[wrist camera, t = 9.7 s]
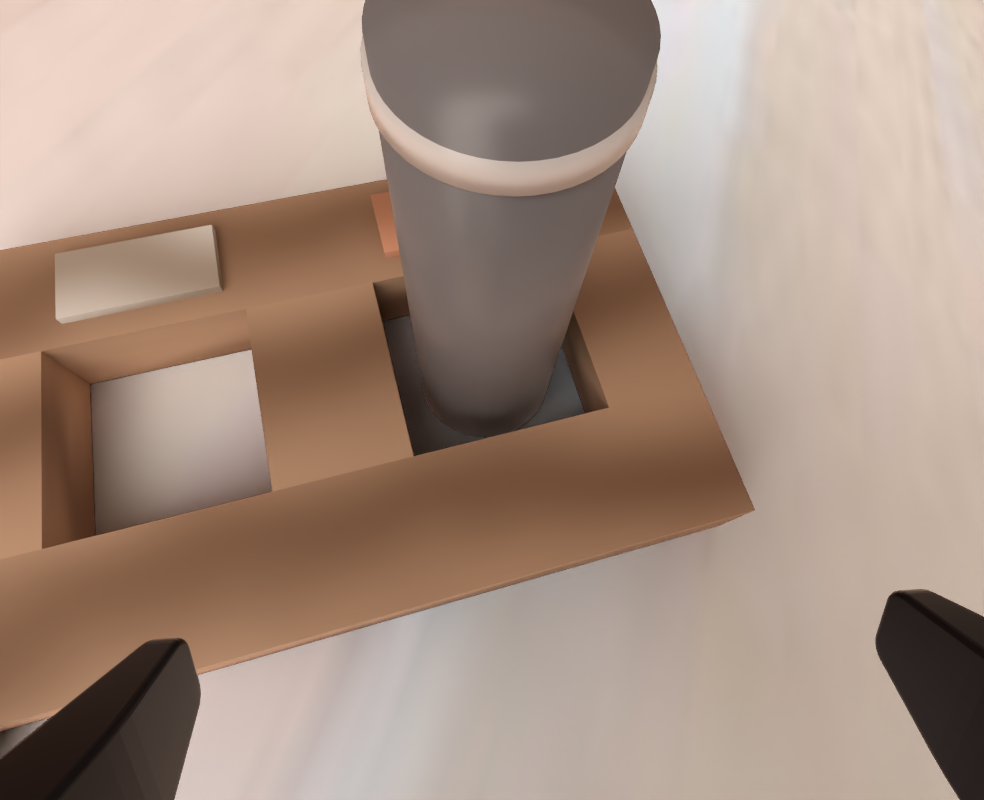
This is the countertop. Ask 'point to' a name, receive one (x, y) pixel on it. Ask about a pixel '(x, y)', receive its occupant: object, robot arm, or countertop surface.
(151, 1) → the countertop surface
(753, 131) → the countertop surface
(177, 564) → the socket plate
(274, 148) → the countertop surface
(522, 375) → the grey cylinder
